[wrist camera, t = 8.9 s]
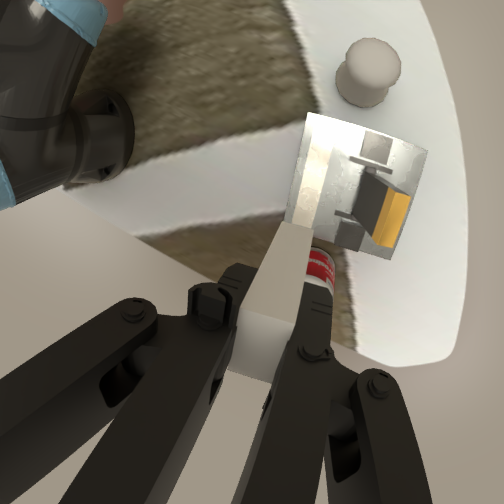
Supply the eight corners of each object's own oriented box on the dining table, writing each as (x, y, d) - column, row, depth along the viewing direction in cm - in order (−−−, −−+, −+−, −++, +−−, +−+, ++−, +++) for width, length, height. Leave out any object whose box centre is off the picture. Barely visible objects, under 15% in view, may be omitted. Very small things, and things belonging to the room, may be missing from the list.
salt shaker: (392, 101, 26) (425, 90, 15) (347, 114, 28) (355, 107, 17) (372, 56, 24) (393, 19, 13) (327, 68, 27) (322, 36, 15)
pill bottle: (344, 269, 37) (344, 322, 27) (310, 294, 40) (299, 348, 30) (313, 236, 36) (303, 281, 26) (280, 263, 39) (259, 312, 29)
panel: (284, 222, 36) (280, 230, 34) (309, 112, 30) (307, 111, 27) (387, 253, 34) (391, 264, 31) (423, 149, 27) (430, 151, 25)
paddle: (347, 215, 31) (375, 249, 24) (362, 164, 28) (397, 186, 21) (361, 218, 31) (390, 252, 24) (376, 168, 28) (412, 191, 21)
